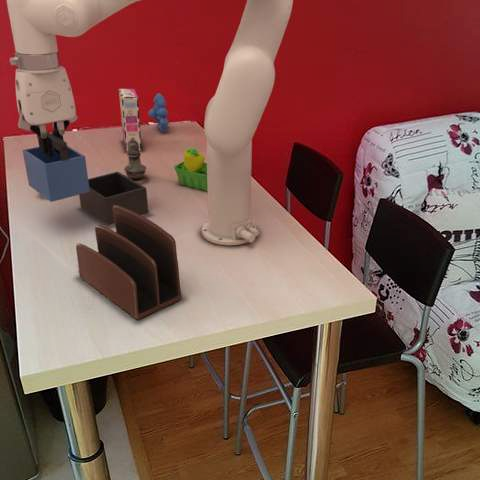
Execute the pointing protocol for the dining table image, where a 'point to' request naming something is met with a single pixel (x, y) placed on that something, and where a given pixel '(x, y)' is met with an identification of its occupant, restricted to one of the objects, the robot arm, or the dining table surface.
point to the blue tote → (56, 170)
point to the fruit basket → (192, 170)
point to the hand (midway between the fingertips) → (53, 153)
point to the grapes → (160, 112)
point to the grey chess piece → (134, 161)
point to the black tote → (113, 196)
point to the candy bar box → (130, 116)
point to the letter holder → (132, 264)
